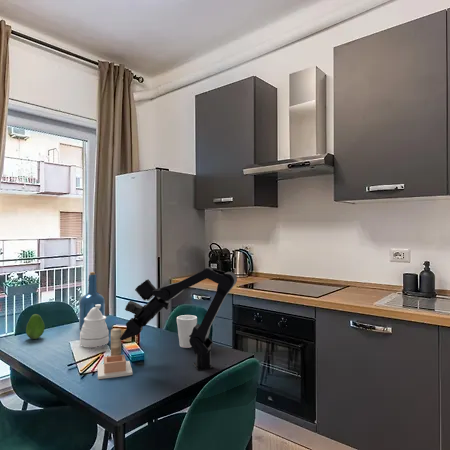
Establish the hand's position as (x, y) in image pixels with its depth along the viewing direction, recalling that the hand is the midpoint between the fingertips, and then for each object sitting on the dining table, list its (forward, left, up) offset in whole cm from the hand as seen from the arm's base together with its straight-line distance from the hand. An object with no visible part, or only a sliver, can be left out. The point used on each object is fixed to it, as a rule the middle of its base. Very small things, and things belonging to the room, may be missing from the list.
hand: (124, 336), depth 146 cm
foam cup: (+12, -29, -11) cm, 33 cm away
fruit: (+46, +38, -11) cm, 61 cm away
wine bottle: (+59, +12, -11) cm, 61 cm away
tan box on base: (-8, +4, -11) cm, 14 cm away
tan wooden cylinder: (+1, +3, -11) cm, 11 cm away
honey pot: (+30, +11, -11) cm, 34 cm away
